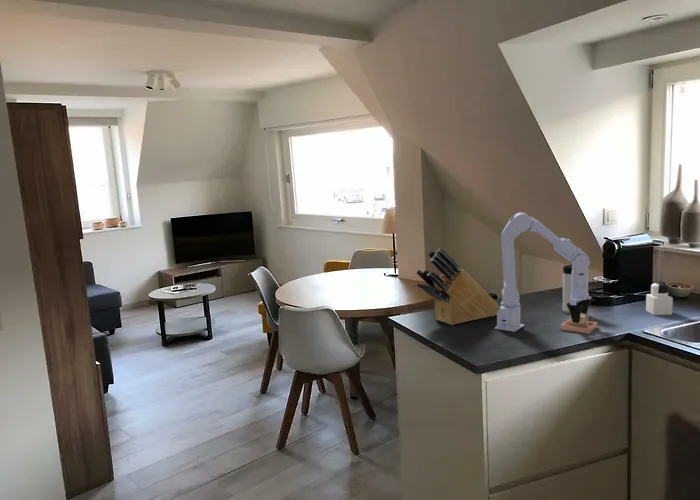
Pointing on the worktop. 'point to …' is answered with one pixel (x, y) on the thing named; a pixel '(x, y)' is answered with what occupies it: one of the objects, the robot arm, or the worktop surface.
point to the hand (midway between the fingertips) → (579, 319)
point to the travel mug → (567, 287)
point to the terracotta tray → (588, 330)
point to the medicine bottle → (659, 300)
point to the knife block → (456, 292)
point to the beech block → (582, 322)
